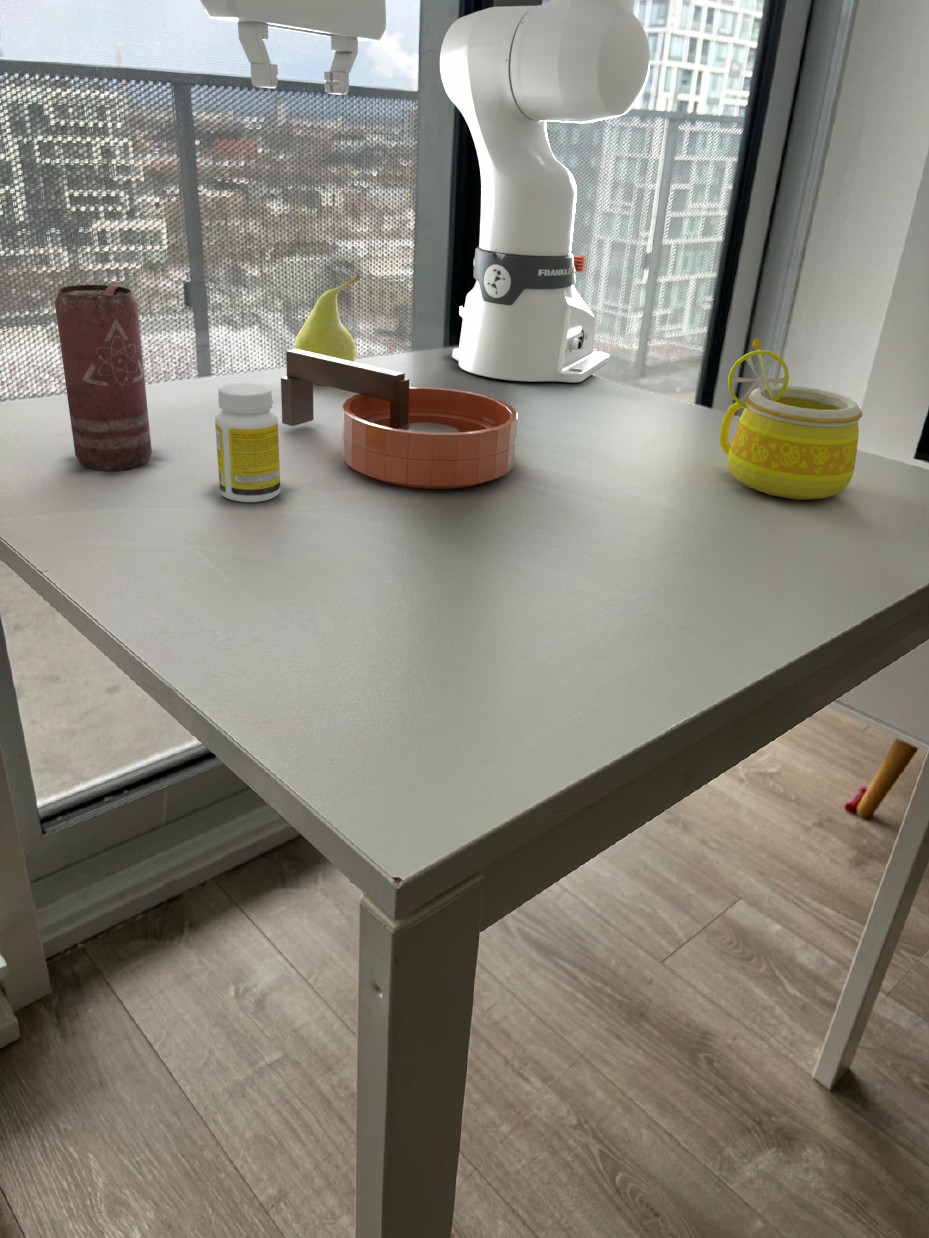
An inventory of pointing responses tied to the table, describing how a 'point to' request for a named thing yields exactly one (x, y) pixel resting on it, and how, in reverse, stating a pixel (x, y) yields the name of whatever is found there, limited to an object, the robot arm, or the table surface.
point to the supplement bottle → (247, 443)
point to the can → (104, 375)
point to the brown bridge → (345, 388)
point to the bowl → (431, 439)
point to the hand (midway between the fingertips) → (302, 91)
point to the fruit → (327, 328)
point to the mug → (790, 436)
